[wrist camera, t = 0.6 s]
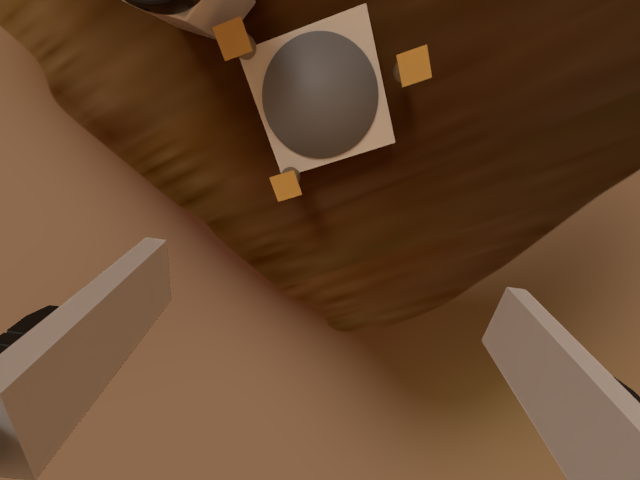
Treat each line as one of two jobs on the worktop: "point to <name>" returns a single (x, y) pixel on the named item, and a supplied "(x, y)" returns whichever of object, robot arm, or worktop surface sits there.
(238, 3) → the jar
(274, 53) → the cradle board
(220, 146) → the worktop surface
